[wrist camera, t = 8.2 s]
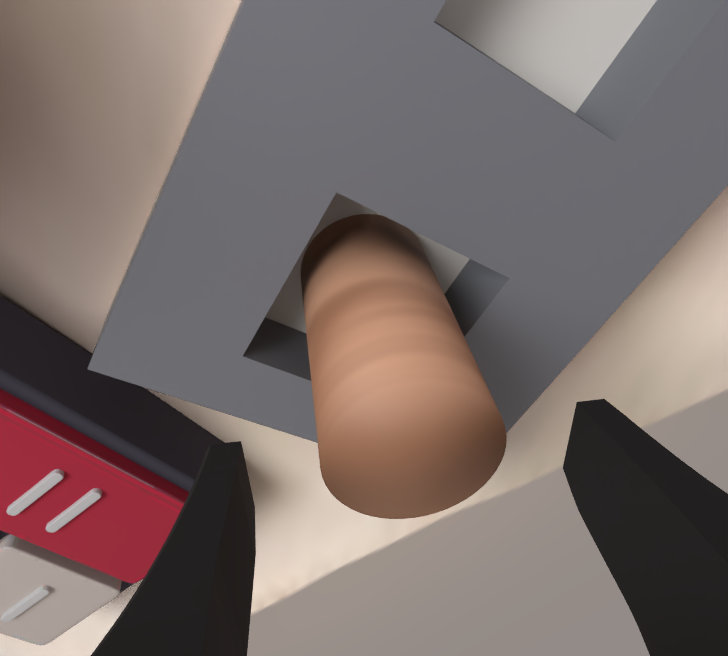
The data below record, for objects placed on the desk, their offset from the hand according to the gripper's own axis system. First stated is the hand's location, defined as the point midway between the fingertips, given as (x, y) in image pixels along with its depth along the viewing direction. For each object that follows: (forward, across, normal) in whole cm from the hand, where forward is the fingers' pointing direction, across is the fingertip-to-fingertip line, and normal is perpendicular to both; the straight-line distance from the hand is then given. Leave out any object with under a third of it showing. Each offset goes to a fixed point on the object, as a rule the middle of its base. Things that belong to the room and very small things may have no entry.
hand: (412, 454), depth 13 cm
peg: (+8, 0, 0) cm, 8 cm away
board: (+8, -3, -4) cm, 10 cm away
